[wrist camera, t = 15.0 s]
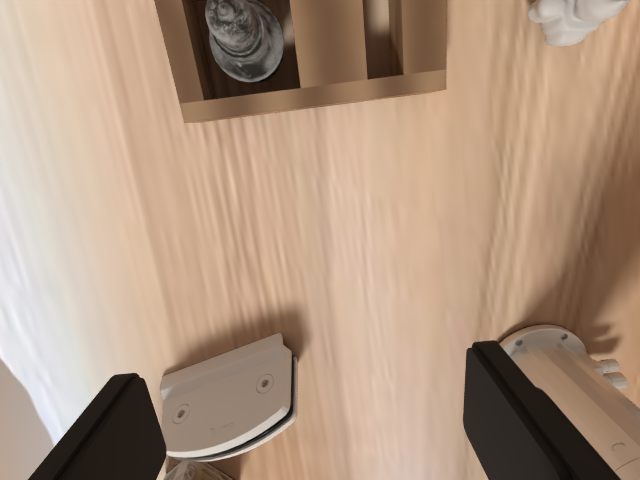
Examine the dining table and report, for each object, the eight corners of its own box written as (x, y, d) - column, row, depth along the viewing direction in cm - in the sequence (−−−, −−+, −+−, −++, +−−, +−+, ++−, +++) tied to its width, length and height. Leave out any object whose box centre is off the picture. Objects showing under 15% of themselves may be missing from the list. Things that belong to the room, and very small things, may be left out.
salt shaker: (250, -6, 28) (215, -88, 17) (299, 51, 30) (296, 9, 19) (205, 48, 30) (145, 5, 18) (255, 100, 31) (227, 89, 20)
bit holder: (428, -51, 28) (447, -77, 24) (429, 92, 32) (446, 89, 28) (166, -17, 28) (145, -38, 24) (198, 122, 32) (184, 122, 28)
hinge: (282, 331, 40) (291, 416, 32) (298, 350, 43) (309, 433, 35) (159, 377, 42) (139, 469, 34) (182, 393, 44) (168, 481, 37)
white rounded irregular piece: (578, 51, 31) (665, 29, 24) (508, 50, 31) (574, 28, 23) (594, -20, 29) (695, -68, 22) (520, -21, 29) (596, -70, 21)
